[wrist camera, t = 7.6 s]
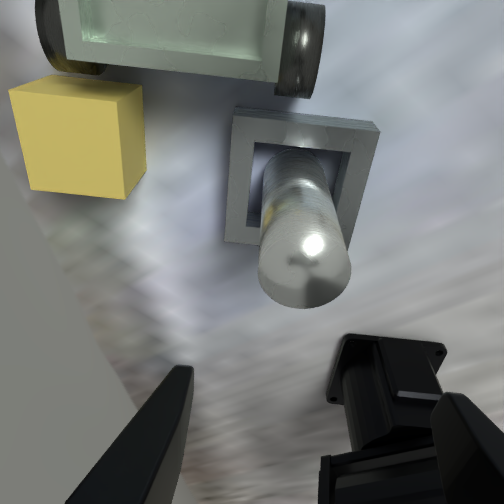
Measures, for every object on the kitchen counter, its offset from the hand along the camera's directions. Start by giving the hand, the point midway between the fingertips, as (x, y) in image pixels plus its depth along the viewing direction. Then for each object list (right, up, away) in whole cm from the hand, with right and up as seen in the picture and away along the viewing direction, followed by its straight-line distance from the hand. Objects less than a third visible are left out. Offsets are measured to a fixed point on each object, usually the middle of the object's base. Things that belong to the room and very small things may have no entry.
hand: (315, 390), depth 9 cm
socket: (+1, +7, +11) cm, 12 cm away
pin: (+1, +7, +11) cm, 12 cm away
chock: (-8, +9, +10) cm, 16 cm away
